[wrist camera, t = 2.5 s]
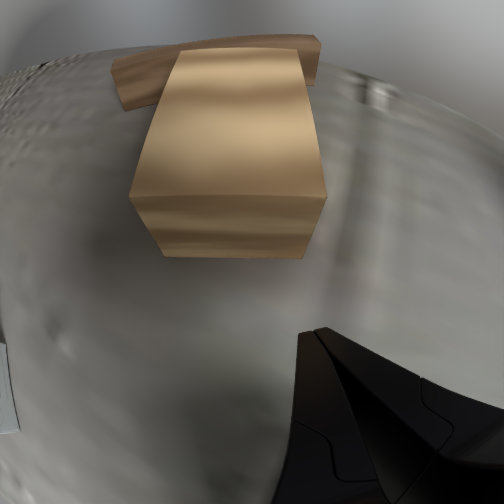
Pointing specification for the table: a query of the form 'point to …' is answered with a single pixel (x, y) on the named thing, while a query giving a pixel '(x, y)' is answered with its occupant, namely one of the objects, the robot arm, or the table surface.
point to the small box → (6, 397)
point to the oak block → (231, 158)
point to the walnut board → (163, 59)
